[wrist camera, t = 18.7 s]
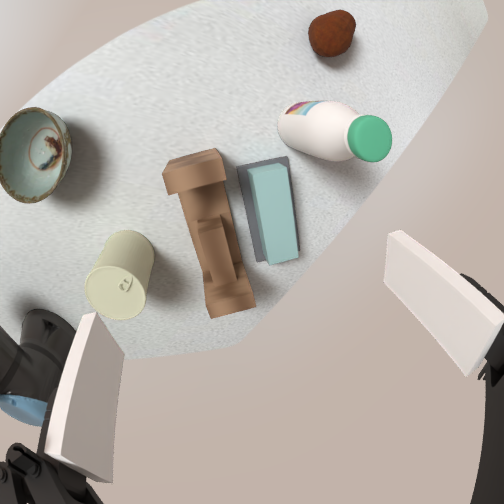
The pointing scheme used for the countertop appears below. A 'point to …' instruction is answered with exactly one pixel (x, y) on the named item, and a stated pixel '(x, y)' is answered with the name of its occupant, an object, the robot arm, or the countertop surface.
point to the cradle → (211, 230)
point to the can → (121, 276)
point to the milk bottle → (334, 131)
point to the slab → (274, 212)
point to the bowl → (33, 154)
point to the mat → (250, 203)
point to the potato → (332, 33)
